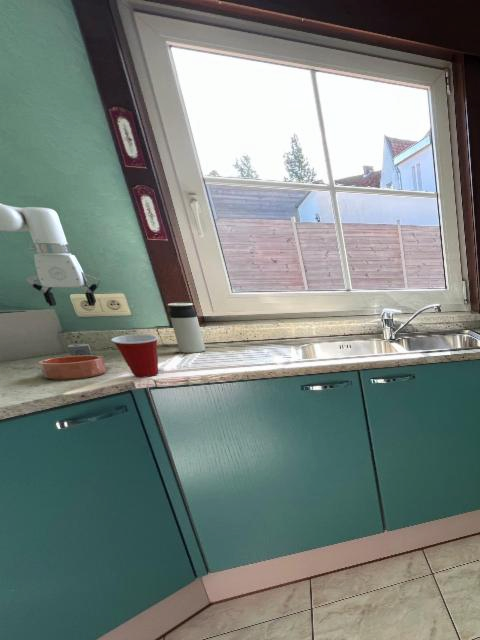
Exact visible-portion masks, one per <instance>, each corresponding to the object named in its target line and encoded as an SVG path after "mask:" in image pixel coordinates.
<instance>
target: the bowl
mask: <svg viewBox="0 0 480 640" xmlns="http://www.w3.org/2000/svg"><path fill="white" fill-rule="evenodd" d="M38 365H39V367H40V369H41V373H42V375H43V377H44V378H46V379H50V380H55V381H67V380H68V381H69V380H70V381H71V380H81V379H87V378H93V377H98V376H102V375H103V374H104V373H106V372H107V367H106V365H105V362H104V359H103V356H100V355H93V354H92V355H82V356H71V355H69V356H60V357H52V358H46V359H42V360H39V361H38Z"/></svg>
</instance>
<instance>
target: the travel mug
mask: <svg viewBox="0 0 480 640" xmlns="http://www.w3.org/2000/svg"><path fill="white" fill-rule="evenodd" d="M193 305H194V303H192V302H172V303H167V306H168V307H169V312H168V315H169V318H170V321H171V325H172V328H173V332H174V336H175V339H176V343H177V346H178V350H179V352H180V353H182V352H183V353H182V354H197V353H203V352H205V351H206V350H207V349H206V345H205V341H204V338H203V334H202V330H201V327H200V323H199V319H198V315H197V312H196V311H195V310H194V308H193Z"/></svg>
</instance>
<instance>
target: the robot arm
mask: <svg viewBox="0 0 480 640" xmlns="http://www.w3.org/2000/svg"><path fill="white" fill-rule="evenodd" d="M0 231H2V232H10V233H11V232H12V233H14V232H16V233H18V232H29V234H30V236H31V239H32V242H33V244H32V245H28V248H29V250H30V251H35V254H34V255H33V256H34V265H35V268H36V272H37V273H36V274H33V275H32V276H29V277H26V279H25V281H27V282H28V283H29V284H30V285H31V287H32V288H34V289H35V290H36V291H39V292H40V294H43V297H44V299H45V302H46V304H48V305H49V306H50V307H53V306H57V302H56V299H55V296H54V293H53V292H51V291H52V289H53V288H80V289H82V290H83V291H85V293H84V294H85V298H86V301H87V304H88V306H96V303H97V300H96V297H95V294H94V293H95V291H96V290H97V289H98V288H99V285H100V282H101V279H100V278H98V277H96V276H92V275H89V274H88V273H84V271H83V268H82V265H81V264H80V262H79V261H78V259H77V256H76V255H75V254H72V252H71V249H70V246H69V243H68V240H67V238H66V235H65V231H64V229H63V226H62V223H61V221H60V217H59V215H58V212H57V211H56V210H54V209H53V208H48V207H39V206H25V207H19V206H13V205H7V204H3V203H1V202H0ZM36 253H37V254H36ZM37 280H39V283H40V284H39V283H38V282H37ZM87 280H89V281H91V282H92V283H91V285H88V281H87Z"/></svg>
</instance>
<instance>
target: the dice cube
mask: <svg viewBox="0 0 480 640" xmlns="http://www.w3.org/2000/svg"><path fill="white" fill-rule="evenodd" d="M67 349H68V352H69V356H82V355H93V353H92V349H91V346H90V344H89V343H75V344H68V345H67Z"/></svg>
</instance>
